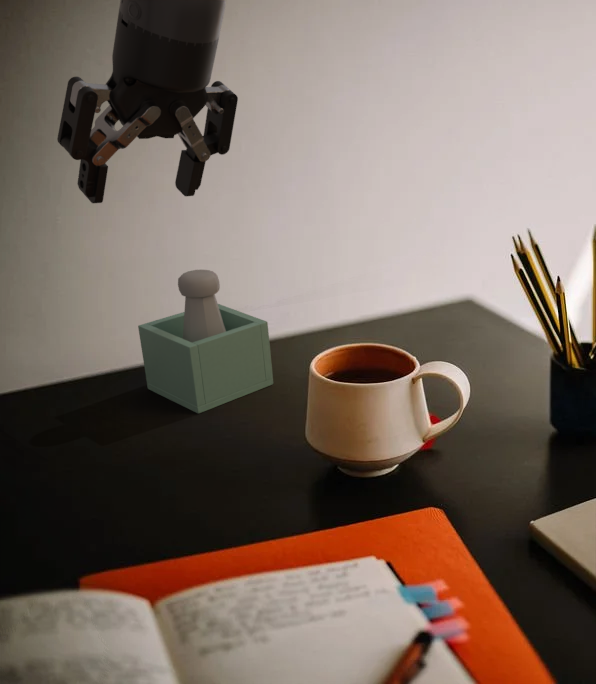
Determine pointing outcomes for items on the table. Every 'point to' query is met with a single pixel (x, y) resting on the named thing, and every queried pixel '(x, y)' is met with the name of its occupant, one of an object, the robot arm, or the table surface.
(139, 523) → the table surface
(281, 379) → the table surface
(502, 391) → the table surface
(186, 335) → the salt shaker
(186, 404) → the green open box
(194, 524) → the table surface
